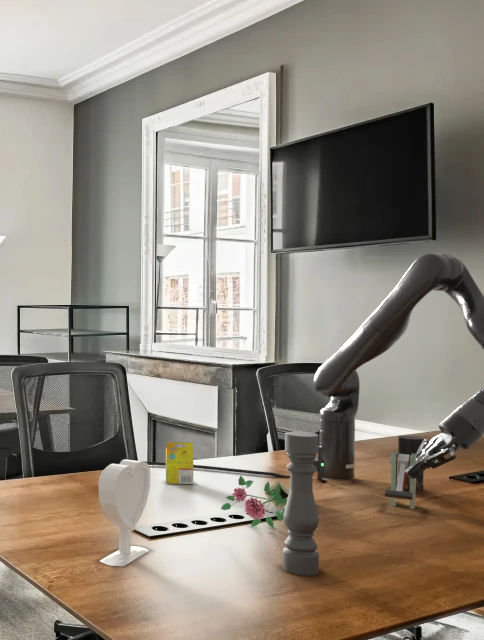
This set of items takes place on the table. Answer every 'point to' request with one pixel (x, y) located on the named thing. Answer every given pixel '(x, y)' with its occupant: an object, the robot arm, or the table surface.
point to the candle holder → (301, 505)
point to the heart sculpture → (124, 504)
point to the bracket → (394, 465)
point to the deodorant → (409, 447)
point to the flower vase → (255, 510)
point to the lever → (400, 480)
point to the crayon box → (179, 463)
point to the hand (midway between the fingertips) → (409, 475)
